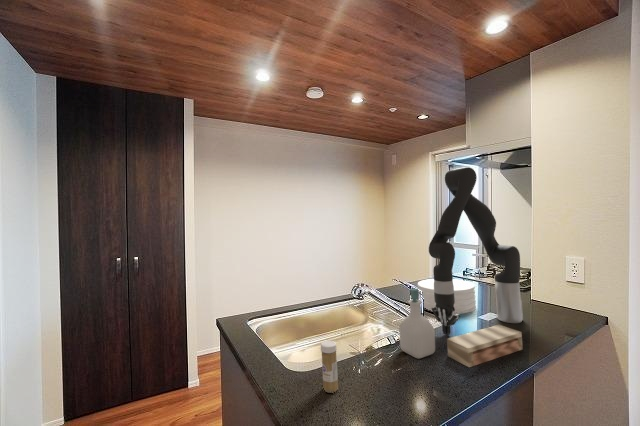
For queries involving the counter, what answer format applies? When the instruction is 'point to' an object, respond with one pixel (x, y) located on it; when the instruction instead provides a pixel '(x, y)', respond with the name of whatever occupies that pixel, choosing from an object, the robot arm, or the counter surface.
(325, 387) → the sprinkles bottle
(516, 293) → the robot arm
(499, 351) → the low box
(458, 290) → the plate stack
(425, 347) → the soap bottle
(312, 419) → the counter surface
